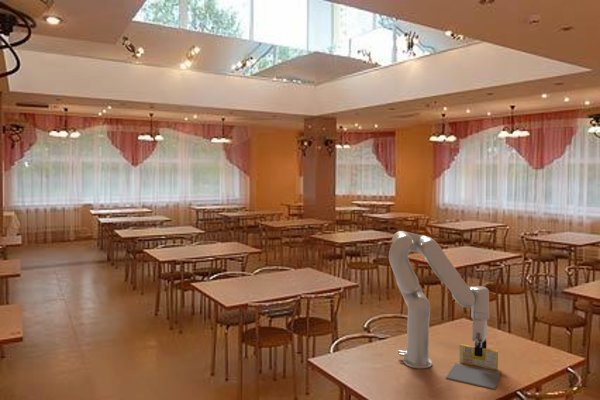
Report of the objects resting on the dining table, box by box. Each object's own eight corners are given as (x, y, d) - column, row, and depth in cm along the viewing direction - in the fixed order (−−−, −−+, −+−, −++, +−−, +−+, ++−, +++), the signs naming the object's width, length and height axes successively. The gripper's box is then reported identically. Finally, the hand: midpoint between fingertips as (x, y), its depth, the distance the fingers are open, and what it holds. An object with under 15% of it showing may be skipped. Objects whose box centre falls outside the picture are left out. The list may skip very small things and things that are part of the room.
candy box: (498, 369, 206) (498, 350, 205) (497, 370, 204) (497, 352, 203) (460, 361, 214) (460, 343, 214) (459, 362, 212) (459, 344, 212)
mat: (445, 378, 195) (445, 377, 195) (455, 364, 210) (455, 363, 210) (494, 389, 185) (494, 388, 185) (500, 374, 200) (500, 372, 200)
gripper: (475, 308, 217) (475, 344, 218) (467, 318, 202) (467, 357, 203) (492, 310, 213) (492, 347, 214) (485, 321, 198) (486, 360, 199)
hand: (480, 352), depth 209 cm, fingers open, 9 cm apart
